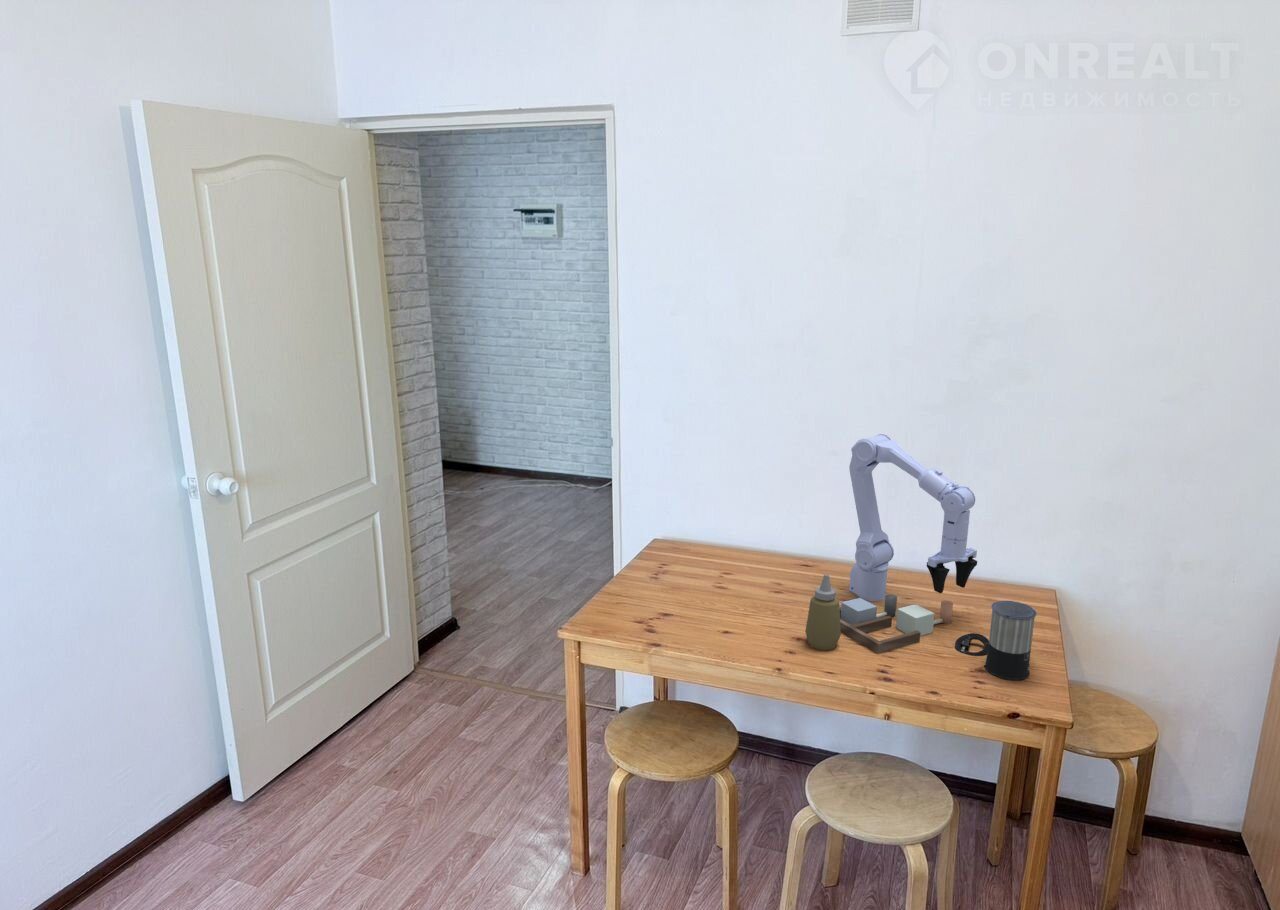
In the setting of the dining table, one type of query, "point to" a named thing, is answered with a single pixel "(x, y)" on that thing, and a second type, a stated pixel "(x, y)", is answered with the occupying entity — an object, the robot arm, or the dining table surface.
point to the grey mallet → (866, 610)
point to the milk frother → (1005, 640)
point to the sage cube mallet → (922, 618)
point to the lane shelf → (861, 629)
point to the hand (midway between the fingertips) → (949, 588)
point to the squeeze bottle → (823, 617)
